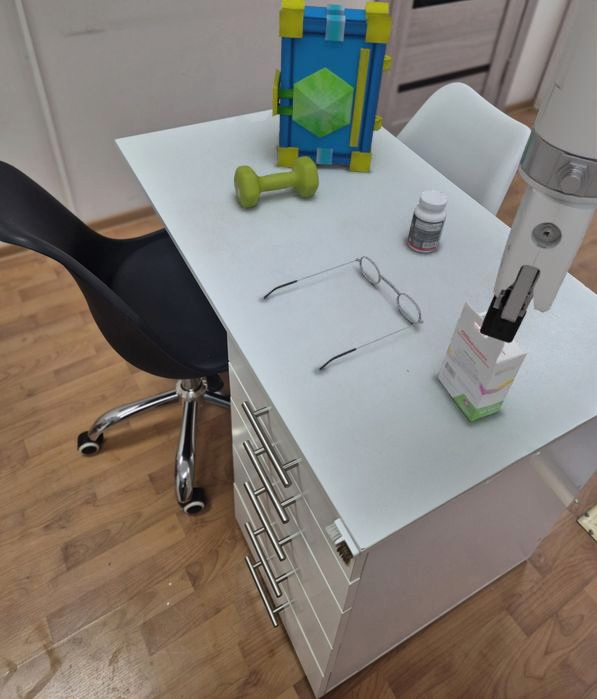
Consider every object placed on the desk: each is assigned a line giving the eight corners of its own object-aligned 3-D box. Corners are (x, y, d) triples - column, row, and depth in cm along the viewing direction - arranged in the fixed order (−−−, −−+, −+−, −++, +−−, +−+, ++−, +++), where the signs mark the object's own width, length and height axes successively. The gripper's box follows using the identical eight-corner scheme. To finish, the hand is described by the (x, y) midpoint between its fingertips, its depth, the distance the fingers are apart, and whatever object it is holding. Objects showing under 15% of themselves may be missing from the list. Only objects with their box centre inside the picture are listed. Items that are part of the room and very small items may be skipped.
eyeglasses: (423, 330, 85) (428, 311, 82) (320, 374, 78) (321, 355, 75) (358, 266, 96) (361, 248, 93) (263, 300, 89) (262, 281, 86)
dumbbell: (243, 215, 105) (242, 181, 100) (231, 194, 110) (229, 160, 105) (321, 201, 110) (324, 168, 105) (305, 182, 115) (308, 149, 110)
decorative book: (275, 141, 127) (278, -8, 106) (373, 148, 127) (396, 0, 106) (271, 172, 117) (272, 13, 96) (377, 178, 118) (403, 22, 96)
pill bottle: (413, 232, 104) (425, 185, 97) (442, 242, 102) (455, 194, 95) (402, 247, 100) (412, 199, 93) (430, 257, 99) (444, 209, 91)
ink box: (500, 413, 74) (539, 336, 64) (469, 423, 73) (505, 346, 62) (464, 368, 80) (495, 290, 69) (435, 377, 78) (462, 299, 68)
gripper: (623, 223, 35) (521, 400, 48) (632, 134, 45) (545, 302, 58) (506, 191, 37) (440, 369, 50) (539, 112, 47) (475, 279, 60)
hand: (496, 333), depth 54 cm, fingers closed
